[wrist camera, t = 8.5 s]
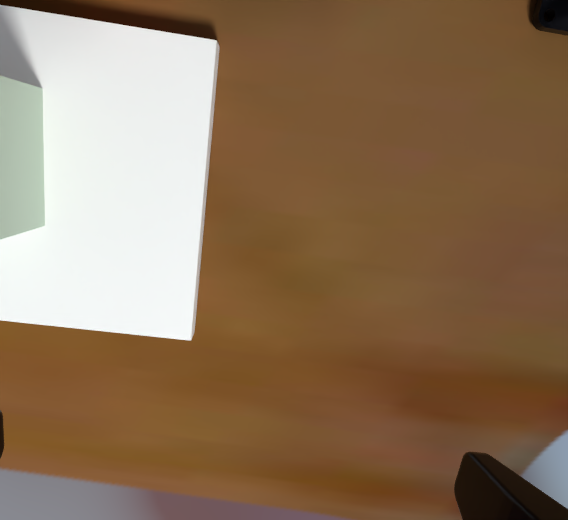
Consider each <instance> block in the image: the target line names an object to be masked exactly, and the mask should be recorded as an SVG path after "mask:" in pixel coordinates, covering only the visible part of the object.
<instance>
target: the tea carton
mask: <svg viewBox="0 0 568 520" xmlns="http://www.w3.org/2000/svg"><path fill="white" fill-rule="evenodd" d="M43 226H45V199H44V142H43V88H40V87H36V86H33V85H30V84H27V83H23V82H20V81H17V80H13V79H10V78H7V77H4V76H0V240H1V239H4V238H7V237H10V236H14V235H17V234H20V233H23V232H27V231H30V230H33V229H36V228H40V227H43Z"/></svg>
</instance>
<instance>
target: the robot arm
mask: <svg viewBox="0 0 568 520" xmlns="http://www.w3.org/2000/svg"><path fill="white" fill-rule="evenodd" d="M545 12H546V13H548V15H549V20H548V21H546V20H545V19H544V13H545ZM532 22H533V25H534V27H535V28H536V29H538V30H540V31H546V32H551V33H557V34H563V35H568V0H537V3H536V6H535V10H534V14H533V20H532ZM3 449H4V431H3V415H2V412H1V410H0V458H1V456H2V453H3ZM454 491H455V497H456V501H457V504H458V507H459V510H460V513H461V516H462V519H463V520H568V509H567V508H565V507H564V506H562V505H561V504H559V503H558V502H557V501H555V500H554V499H552V498H551V497H549V496H548V495H546V494H545V493H544V492H542V491H541V490H539V489H538V488H536V487H535V486H533V485H532V484H531V483H529V482H528V481H526V480H525V479H523V478H522V477H520V476H519V475H518V474H516V473H515V472H513V471H512V470H510V469H509V468H507V467H506V466H505V465H503V464H502V463H500V462H499V461H497V460H496V459H494V458H493V457H492V456H490V455H488V454H486V453H478V452H467V453H465V455H464V456H463V458H462V462H461V465H460V468H459V471H458V475H457V478H456V481H455V487H454Z"/></svg>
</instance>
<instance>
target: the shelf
mask: <svg viewBox="0 0 568 520" xmlns="http://www.w3.org/2000/svg"><path fill="white" fill-rule="evenodd" d="M218 58H219V45H218V42H217V40H212V39H205V38H199V37H193V36H187V35H181V34H175V33H169V32H163V31H157V30H151V29H145V28H138V27H132V26H126V25H120V24H114V23H108V22H102V21H96V20H90V19H84V18H78V17H71V16H65V15H59V14H53V13H47V12H41V11H35V10H29V9H23V8H17V7H11V6H4V5H0V76H4V77H7V78H10V79H13V80H17V81H20V82H23V83H27V84H30V85H33V86H36V87H40V88H43V142H44V199H45V226H43V227H40V228H36V229H33V230H30V231H27V232H23V233H20V234H17V235H14V236H10V237H7V238H4V239H1V240H0V320H2V321H12V322H21V323H31V324H40V325H50V326H59V327H68V328H78V329H87V330H97V331H106V332H115V333H125V334H134V335H144V336H153V337H163V338H172V339H181V340H191V339H192V337H193V334H194V332H195V320H196V309H197V298H198V286H199V275H200V263H201V252H202V241H203V229H204V218H205V206H206V195H207V184H208V172H209V161H210V149H211V138H212V127H213V115H214V104H215V92H216V81H217V70H218Z"/></svg>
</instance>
